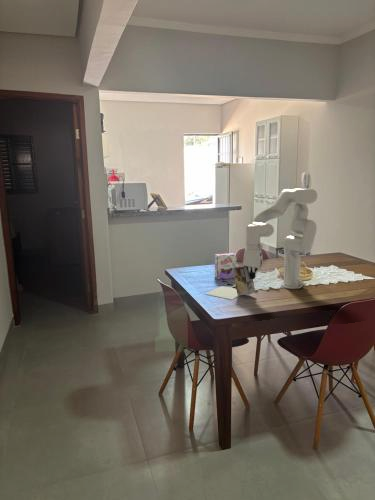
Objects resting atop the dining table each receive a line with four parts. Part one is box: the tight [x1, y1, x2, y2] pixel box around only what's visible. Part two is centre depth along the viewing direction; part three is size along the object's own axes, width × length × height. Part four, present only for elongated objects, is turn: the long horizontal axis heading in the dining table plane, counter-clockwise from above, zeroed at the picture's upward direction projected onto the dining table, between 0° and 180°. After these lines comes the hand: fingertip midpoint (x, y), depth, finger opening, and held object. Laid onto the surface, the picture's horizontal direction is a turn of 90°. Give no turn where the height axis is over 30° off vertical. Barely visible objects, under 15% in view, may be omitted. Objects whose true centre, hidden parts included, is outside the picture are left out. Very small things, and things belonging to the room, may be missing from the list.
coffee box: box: [232, 265, 256, 296], centre depth 214 cm, size 9×6×16 cm
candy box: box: [214, 252, 237, 280], centre depth 250 cm, size 14×6×16 cm, turn 101°
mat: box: [205, 285, 241, 301], centre depth 221 cm, size 18×18×1 cm
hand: (252, 278), depth 210 cm, fingers closed
